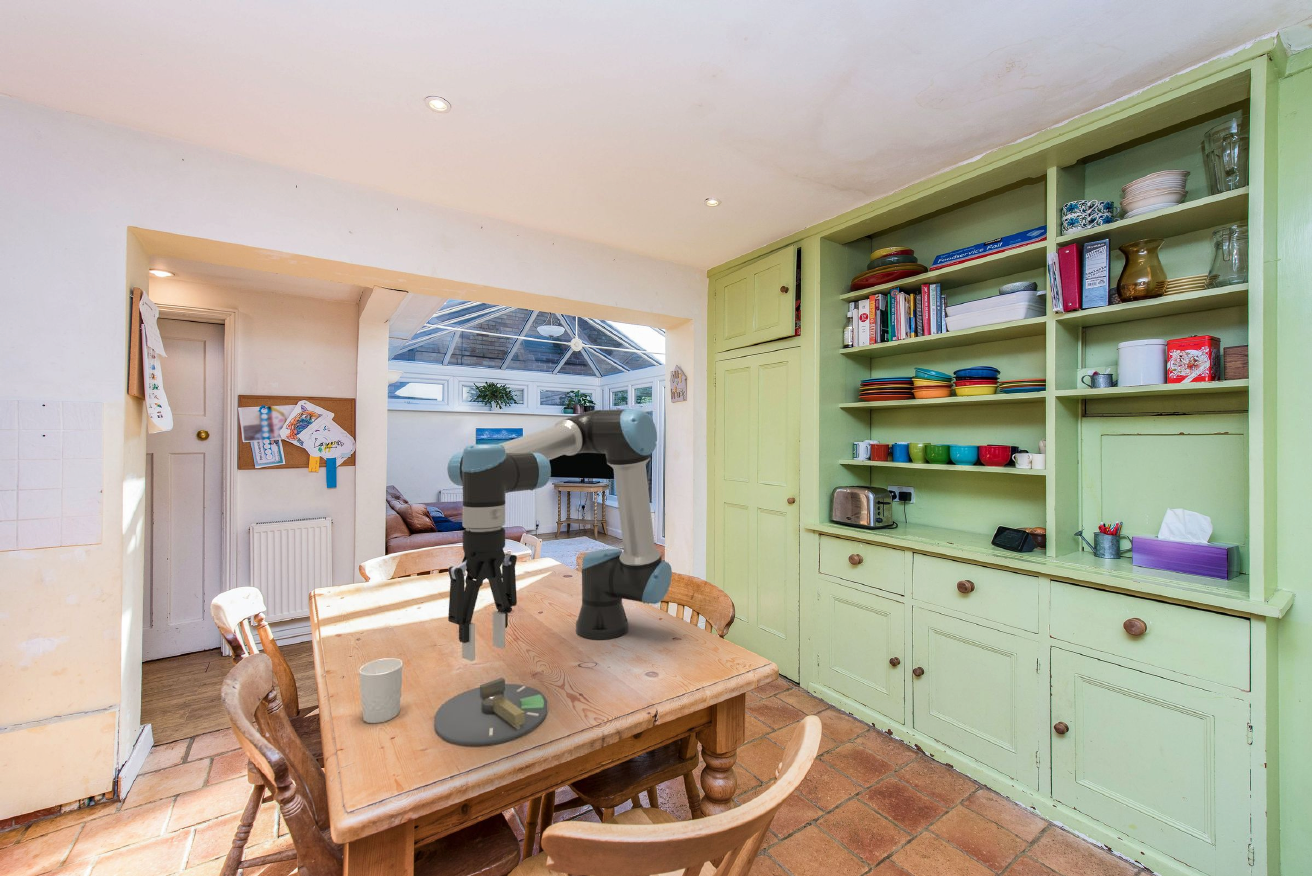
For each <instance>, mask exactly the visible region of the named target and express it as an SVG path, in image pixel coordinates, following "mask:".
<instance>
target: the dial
mask: <svg viewBox="0 0 1312 876" xmlns="http://www.w3.org/2000/svg"><path fill="white" fill-rule="evenodd" d="M504 698H505V699H507V700H508V701H510V702H511V703H513V704H514V705H515V706H517V707H518V708H520V709H521V710H523V711H524V712H525V723H524V724H521V725H519V726H517V727H514V726H513V725H512V724H510V723H509V722H508V721H506V720H505V719H503V718H502V717H501V716H499V715H498V714H497V713H484V712H482V711H481V698H480V686H479V687H475V688H472V689H468V690H466V691H464V692H461V693H458V694H457V695H454V696H453V697H451V698H449V699H448V700H447V701H445V702H444V703H443V704H441V706H440V707H438V709H437V710H436V712H435V715H434V720H433V727H434V731H435V733H436V735H437V736H438V738H441V739H442V740H443V741H445V742H448V743H450V744H453V745H457V746H462V747H463V746H464V747H488V746H494V745H495V746H496V745H499V744H503V743H504V744H505V743H507V742H511V741H514V740H516V739H519V738H521V737H523V736H526V735H528V734H529V733H531V732H533V731H534V730H535V729H537V728H538V727H539V726H540V725H541V724H542V723H543V721H544V720H546V717H547V715H548V700H547V698H546V696H545V694H544V693H542V692H541V691H540V690H537V689H536V688H534V687H531V686H526V685H522V684H514V683H505V691H504Z"/></svg>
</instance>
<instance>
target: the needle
mask: <svg viewBox="0 0 1312 876" xmlns="http://www.w3.org/2000/svg"><path fill="white" fill-rule="evenodd" d="M505 684H506V679H505V678H504V677H500V678H497V679H494V680H491V681H488V682H485V683H483V684H480V685H479V687H480V698H481V711H482V712H484V713H497V714H498V715H499V716H501V717H502V718H503V719H505V720H506V721H508V722H509V723H510V724H512V725H513V726H514V727H517V726H519V725H521V724H524V723H525V712H524V711H523V710H521V709H520V708H518V707H517V706H515V705H514V704H513V703H511V702H510V701H508V700H507V699H505V698H504V691H505Z"/></svg>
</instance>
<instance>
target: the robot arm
mask: <svg viewBox="0 0 1312 876" xmlns="http://www.w3.org/2000/svg"><path fill="white" fill-rule="evenodd" d="M657 441H658V433H657V427H656V425H655V422H654V420H653V419H652V417H651V415H649V413H647V412H646V411H644V410H641V409H631V408H624V409H621V408H620V409H603V410H602V409H595V410H590V411H589V410H588V411H586V412H583V413H579V414H576V415H573V416H570V417H568V418H564V419H561V420H559V421H558V422H556V423H555V424H554V425H553V426H552V427H549V428H545V429H543V430H539V431H537V432H533V433H530V434H525V435H524V436H520V437H517V438H514V439H512V440H507V441H505V442H502V443H498V444H493V443H492V444H488V443H487V444H485V443H484V444H469V445H466V446H465V448H463V451H459V452H456V453H454V454H453V455H452V456H451V457H450V459H449V461H448V462H447V475H448V478H449V480H450V481H451V482H452V483H453V484H454V485H456V486H458V487H459V486H460V487H462V523H461V524H462V527H463V528H464V530H463V531H462V550H463V553H464V555H463V558H462V560H461V563H460V564H457V565H456V566H452V565H451V566H449V567H448V569H447V572H448V575H449V579H450V581H449V582H450V585H449V598H448V599H449V600H448V602H449V603H448V615H447V620H448V622H449V623H452V624H454V625H458V641H459V642H460V643H461V658H462V659H465V660H467V661H469V662H474V661H475V660H476V623H474V622H472V621H473V620H472V619H473V615H474V611H475V607H476V603H477V599H478V595H479V592H480V588H481V587H482V586H483V583H484V581H485V580H488V584H489V587H490V591H491V595H492V598H493V600H494V604H495V608H496V610H494V611H492V646H493V647H496V648H499V649H501V650H502V649H505V648H506V629H507V628H508V626H509V622H508V621H509V620H508V619H509V618H508V617H509V614H510V613H512V611H513V607H516V605H517V602H518V600H517V599H518V598H517V581H516V580H517V579H516V577H517V576H516V565H517V561H518V556H517V555H516V554H511V553H505V552H504V548H505V547H506V529H505V528H504V527H503V526H505V525H506V494H508V493H514V492H523V491H534V490H537V489H541V488H544V486H546V485H547V484H548V483H549V481H550V478H551V476H552V473H551V472H552V468H551V467H552V466H551V463H550V460H553V459H556V458H558V457H560V456H564V455H565V456H568V457H569V456H575V455H577V454H583V453H585V454H586V453H590V454H592V453H593V454H605V459H606V464H607V465H608V466H610V467H611V468H612V469H613V474H614V475H613V476H614V484H615V491H616V492H615V493H616V498H617V507H618V515H619V521H620V529H621V530H620V531H621V539H622V546H623V550H622V549H620V548H604V549H598V550H592V551H590V552H587V553H586V554H584V555H583V557H582V563H581V606H580V610H579V613H578V618H577V620H576V622H575V633H576V634H577V635H578V636H579V637H582V638H586V639H589V640H609V639H616V638H619V637H621V636H624V635H625V634H626V633H628V631H629V621H628V618H627V613H626V612H625V611H626V610H625V608H624V605H623V600H628V601H634V602H640V603H642V604H653V605H657V604H659V603H661V602H662V601H663V600H664V598H665V597H666V596H667V594H668V591H669V589H670V585H671V582H672V575H673V574H672V573H673V571H672V566H671V564H670V562H667V561H666V560H663V558H662V552H661V550H660V549H659V548H657V546H656V545H655V534H654V526H653V517H652V511H651V502H650V501H651V500H650V493H649V484H648V475H647V474H648V473H647V468H646V467H647V466H646V465H647V463H648V462H649V460H650V459H651V454H653V452H654V451H655V449H656V447H657Z"/></svg>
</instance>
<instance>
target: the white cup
mask: <svg viewBox="0 0 1312 876" xmlns="http://www.w3.org/2000/svg"><path fill="white" fill-rule="evenodd" d="M358 671H359V672H358V673H359V690H360V691H359V692H360V703H361V704H360V705H361V709H362V710H361V711H362V721H364V722H365V723H367V724H378V723H379V724H380V723H384V722H388V721H390V720H392V719H394V718H395V717H397V716H398V714H399V713H400V712H401V696H402V686H403V685H402V684H403V661H402V660H401V659H399V658H395V657H394V658H392V657H391V658H390V657H387V658H386V657H385V658H380V659H375V660H372V661H369V662H367V663H365V664H363V665H362V666H361V667H359V670H358Z"/></svg>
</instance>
